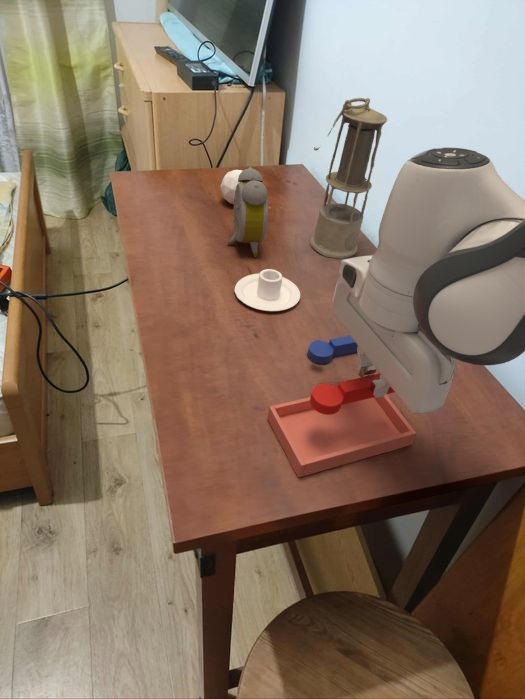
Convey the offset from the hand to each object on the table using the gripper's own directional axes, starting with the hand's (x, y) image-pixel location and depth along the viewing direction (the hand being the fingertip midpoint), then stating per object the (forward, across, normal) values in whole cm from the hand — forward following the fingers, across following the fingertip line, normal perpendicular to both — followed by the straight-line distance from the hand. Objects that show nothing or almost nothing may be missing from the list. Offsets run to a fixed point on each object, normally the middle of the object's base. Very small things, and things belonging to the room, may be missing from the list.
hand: (370, 384), depth 66 cm
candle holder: (+9, +33, 0) cm, 34 cm away
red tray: (+8, 0, +3) cm, 9 cm away
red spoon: (+2, 0, +2) cm, 2 cm away
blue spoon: (+8, +15, -6) cm, 18 cm away
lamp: (+9, +47, -20) cm, 52 cm away
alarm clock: (+9, +51, -2) cm, 52 cm away
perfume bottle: (+9, +72, -8) cm, 73 cm away
